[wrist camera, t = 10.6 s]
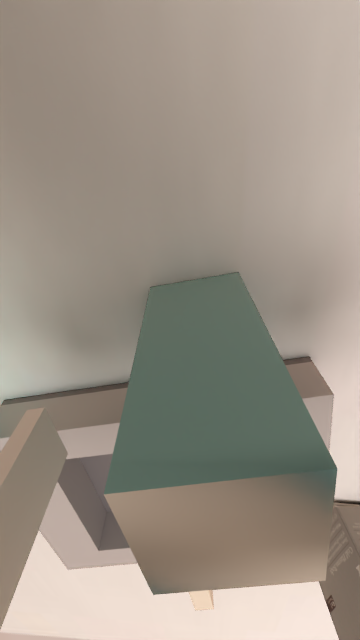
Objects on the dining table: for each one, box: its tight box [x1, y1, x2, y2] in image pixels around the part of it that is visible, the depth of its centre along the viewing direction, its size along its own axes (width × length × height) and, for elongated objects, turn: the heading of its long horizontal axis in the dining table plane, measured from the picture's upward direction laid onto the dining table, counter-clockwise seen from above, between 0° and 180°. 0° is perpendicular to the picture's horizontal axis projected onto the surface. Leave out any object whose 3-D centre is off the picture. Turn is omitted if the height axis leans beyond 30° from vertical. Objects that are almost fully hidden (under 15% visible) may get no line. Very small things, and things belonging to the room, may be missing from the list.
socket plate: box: [0, 357, 334, 570], centre depth 23 cm, size 16×21×4 cm
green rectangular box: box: [104, 272, 337, 595], centre depth 13 cm, size 5×5×12 cm
